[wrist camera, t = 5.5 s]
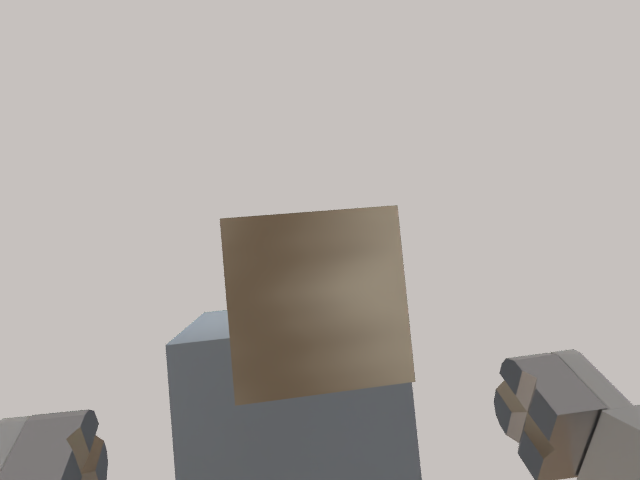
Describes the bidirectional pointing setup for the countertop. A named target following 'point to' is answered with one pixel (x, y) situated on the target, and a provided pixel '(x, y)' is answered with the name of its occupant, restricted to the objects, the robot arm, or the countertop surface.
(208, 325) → the stepped stand
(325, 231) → the block
